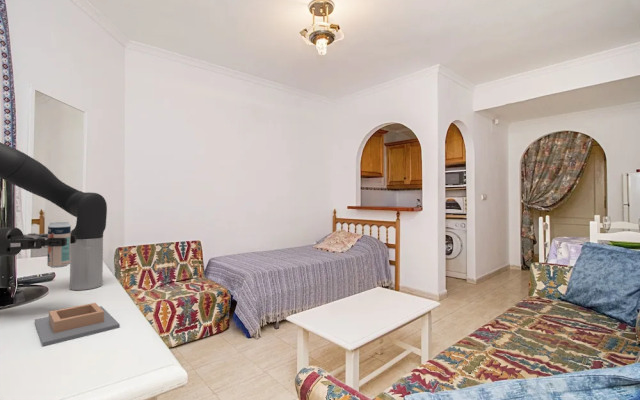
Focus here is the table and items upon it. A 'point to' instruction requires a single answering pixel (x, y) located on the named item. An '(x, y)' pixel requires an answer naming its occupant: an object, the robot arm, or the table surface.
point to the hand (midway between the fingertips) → (70, 240)
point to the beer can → (59, 254)
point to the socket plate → (74, 323)
